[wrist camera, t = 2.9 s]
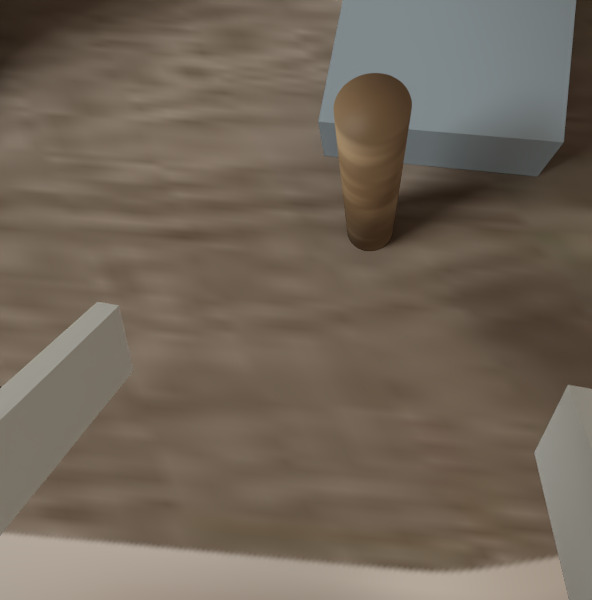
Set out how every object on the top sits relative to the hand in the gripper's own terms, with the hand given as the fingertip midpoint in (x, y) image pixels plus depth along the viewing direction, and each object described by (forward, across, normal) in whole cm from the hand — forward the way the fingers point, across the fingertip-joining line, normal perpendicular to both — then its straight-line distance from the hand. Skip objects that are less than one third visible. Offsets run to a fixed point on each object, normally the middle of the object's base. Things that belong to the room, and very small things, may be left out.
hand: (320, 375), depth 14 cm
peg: (+18, 0, -3) cm, 18 cm away
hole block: (+30, +3, +9) cm, 32 cm away
